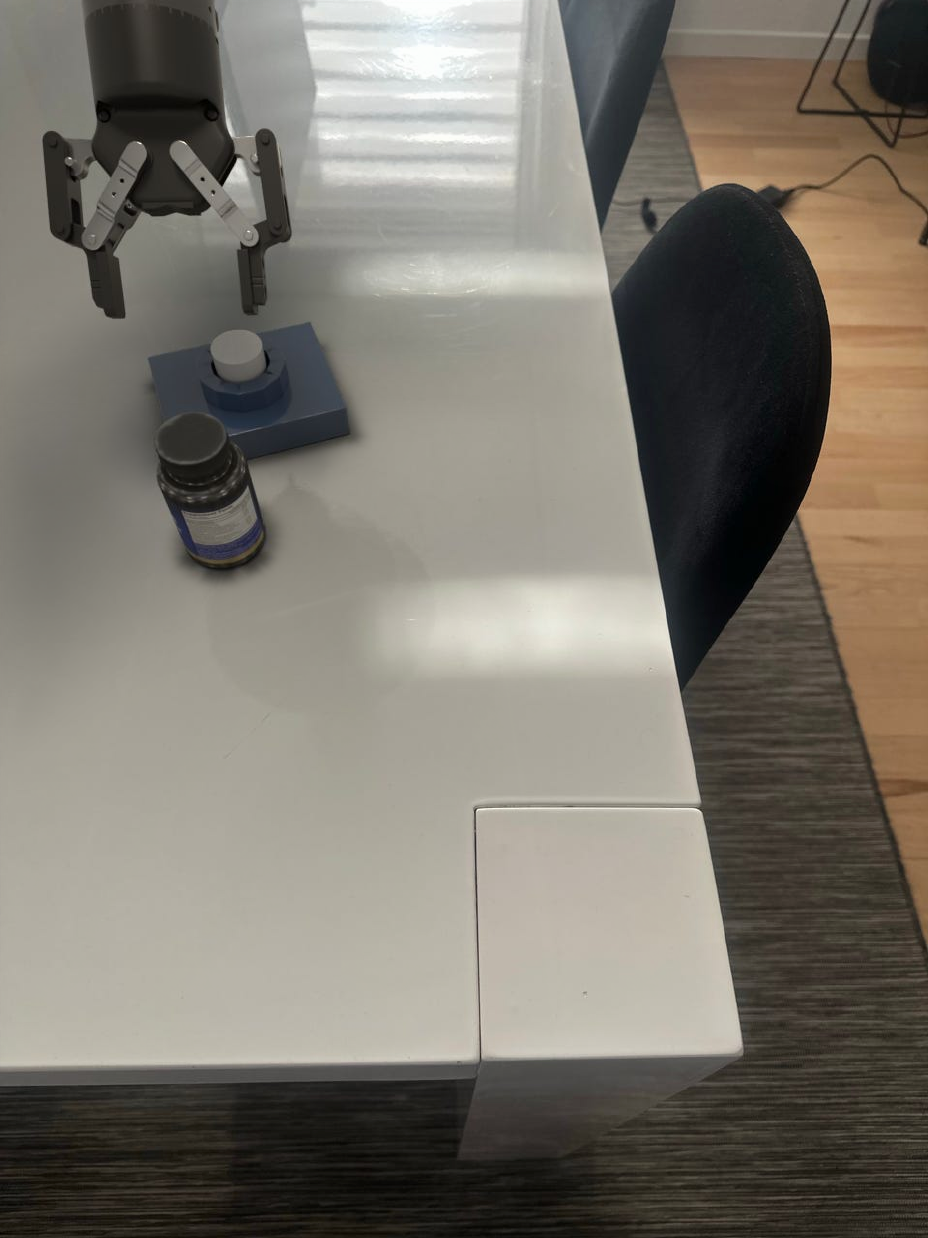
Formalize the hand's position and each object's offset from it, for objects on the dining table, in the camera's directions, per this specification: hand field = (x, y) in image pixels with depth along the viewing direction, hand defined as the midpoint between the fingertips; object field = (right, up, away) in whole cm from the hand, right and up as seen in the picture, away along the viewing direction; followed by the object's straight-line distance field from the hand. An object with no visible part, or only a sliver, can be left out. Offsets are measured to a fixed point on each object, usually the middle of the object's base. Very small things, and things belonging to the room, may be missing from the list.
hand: (184, 315), depth 53 cm
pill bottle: (0, -13, +10) cm, 17 cm away
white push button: (0, +1, +14) cm, 13 cm away
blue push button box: (0, -2, +17) cm, 17 cm away
